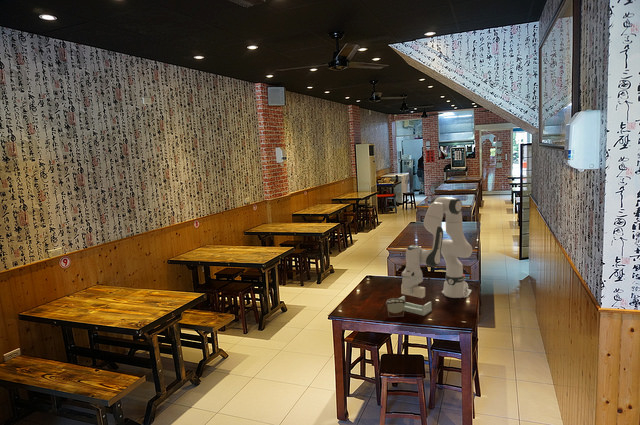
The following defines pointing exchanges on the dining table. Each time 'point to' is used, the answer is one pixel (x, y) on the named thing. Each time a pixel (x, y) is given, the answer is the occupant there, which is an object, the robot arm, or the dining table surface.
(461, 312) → the dining table surface
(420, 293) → the clay strip
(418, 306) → the grey elongated piece
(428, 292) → the dining table surface
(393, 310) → the food container
